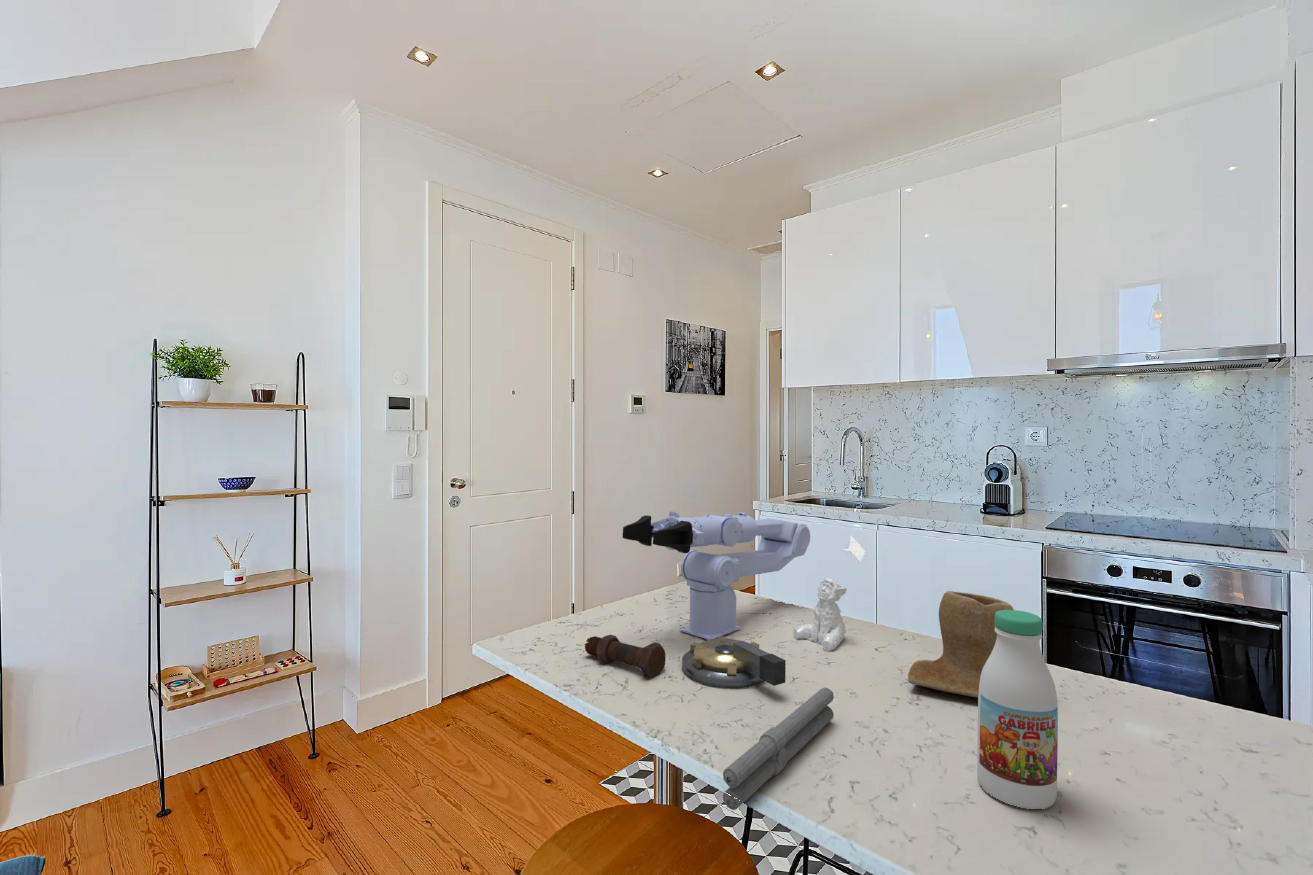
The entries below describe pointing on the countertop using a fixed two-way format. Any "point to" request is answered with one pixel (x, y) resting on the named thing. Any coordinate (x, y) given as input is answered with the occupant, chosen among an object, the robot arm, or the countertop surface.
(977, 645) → the brown boot
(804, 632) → the seated beast figurine
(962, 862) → the countertop surface
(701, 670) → the disc
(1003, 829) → the countertop surface
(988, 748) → the milk bottle
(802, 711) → the metal rod assembly
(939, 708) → the countertop surface
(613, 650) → the bolt
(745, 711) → the countertop surface
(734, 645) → the brass turntable dial
